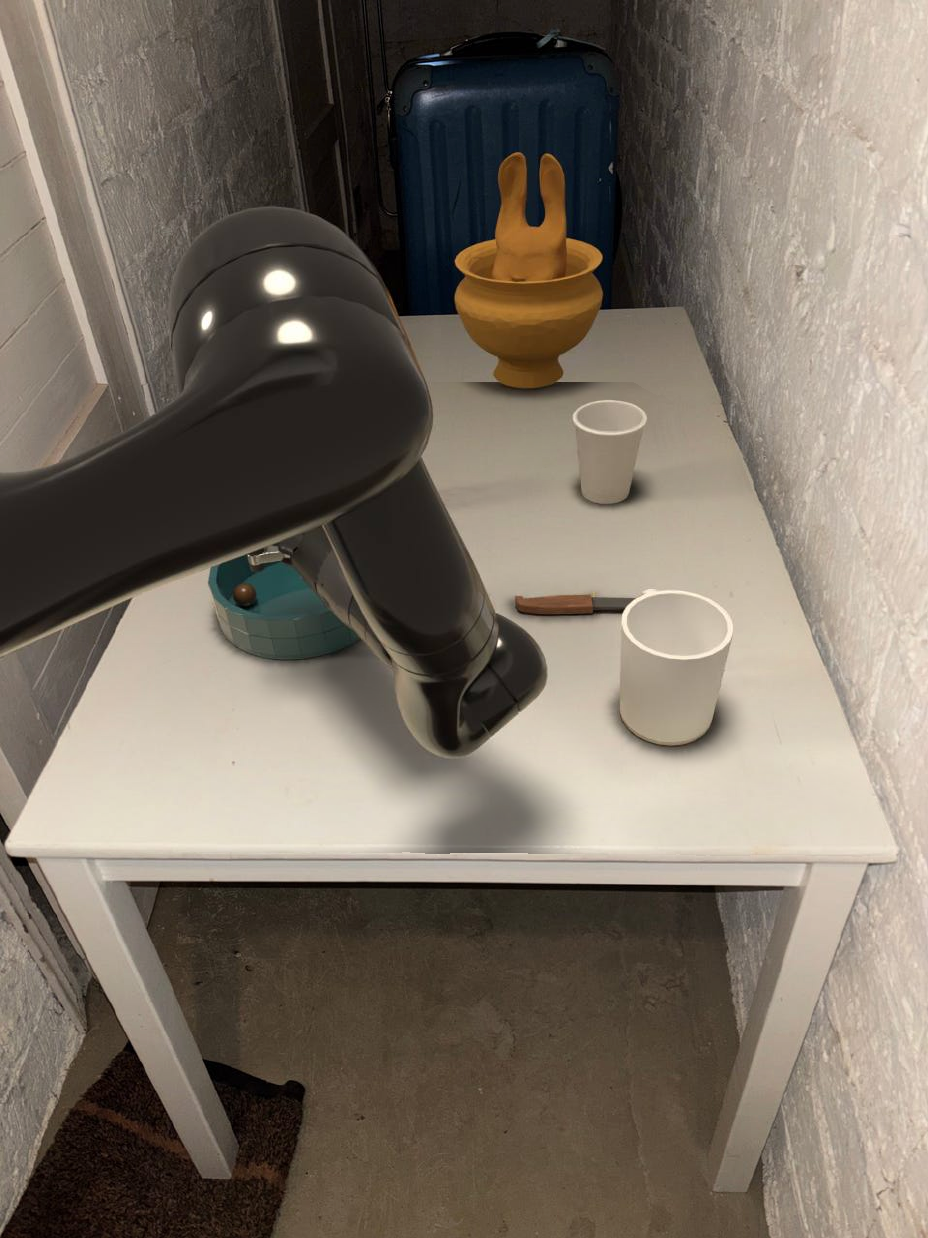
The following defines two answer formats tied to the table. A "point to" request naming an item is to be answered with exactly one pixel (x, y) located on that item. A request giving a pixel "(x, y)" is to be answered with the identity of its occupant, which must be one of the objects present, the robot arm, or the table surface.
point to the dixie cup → (607, 448)
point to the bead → (244, 594)
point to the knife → (569, 604)
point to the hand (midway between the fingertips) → (275, 489)
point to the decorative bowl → (529, 282)
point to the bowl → (275, 613)
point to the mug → (672, 664)
